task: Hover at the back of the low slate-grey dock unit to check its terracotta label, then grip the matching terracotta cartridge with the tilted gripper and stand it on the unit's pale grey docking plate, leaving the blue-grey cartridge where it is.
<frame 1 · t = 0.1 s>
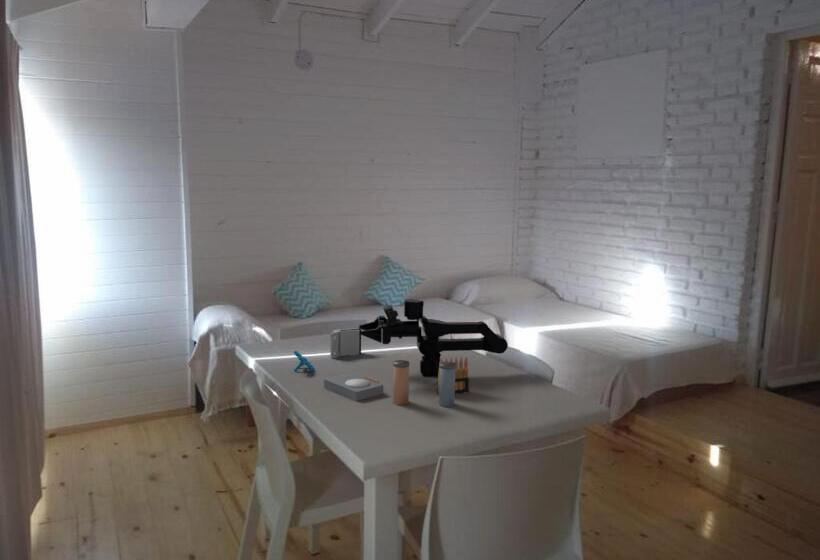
hand: (359, 329, 234), 17 cm above the table, tool horizontal, fingers open, 9 cm apart
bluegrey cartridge: (446, 404, 207), on the table
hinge: (344, 356, 263), on the table
dock unit: (357, 392, 218), on the table
terracotta cartridge: (400, 402, 208), on the table
gear: (304, 371, 242), on the table
ammunition clip: (452, 393, 219), on the table
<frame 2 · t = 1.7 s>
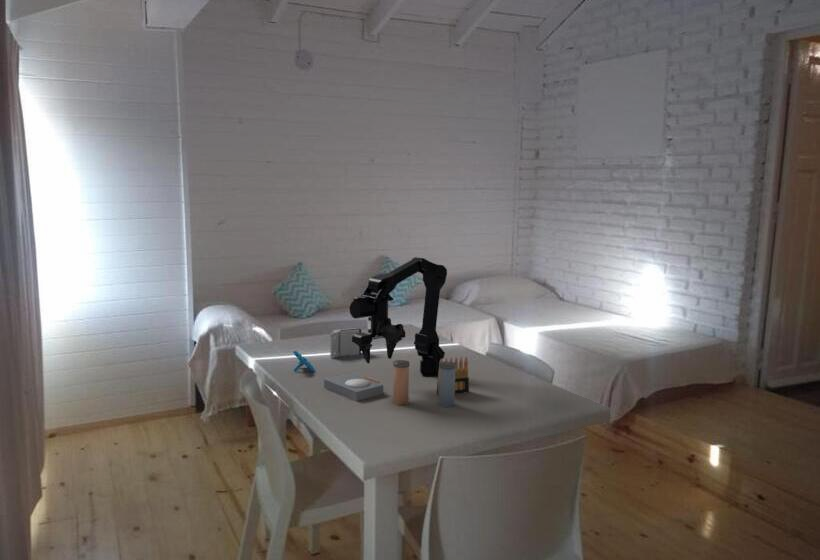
hand: (378, 360, 222), 9 cm above the table, tool pointing down, fingers open, 9 cm apart
nothing on the table moved.
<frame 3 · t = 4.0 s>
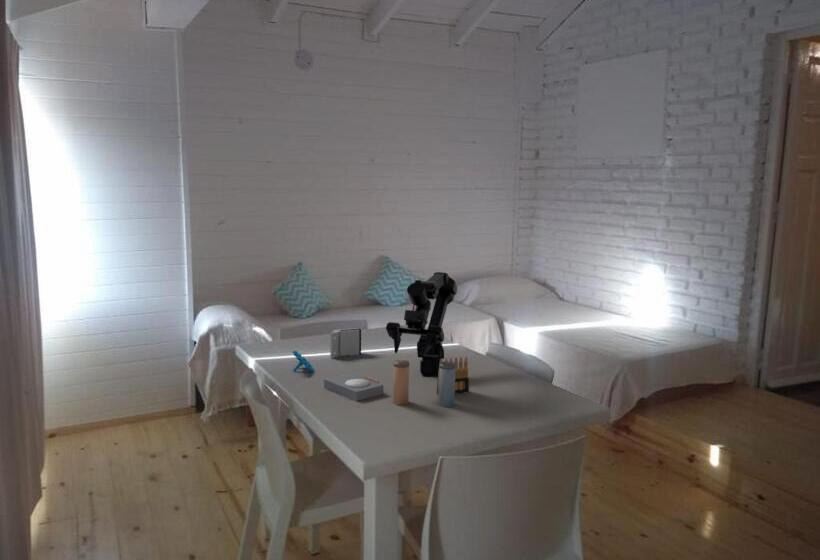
hand: (409, 354, 214), 14 cm above the table, tool tilted 45°, fingers open, 9 cm apart
nothing on the table moved.
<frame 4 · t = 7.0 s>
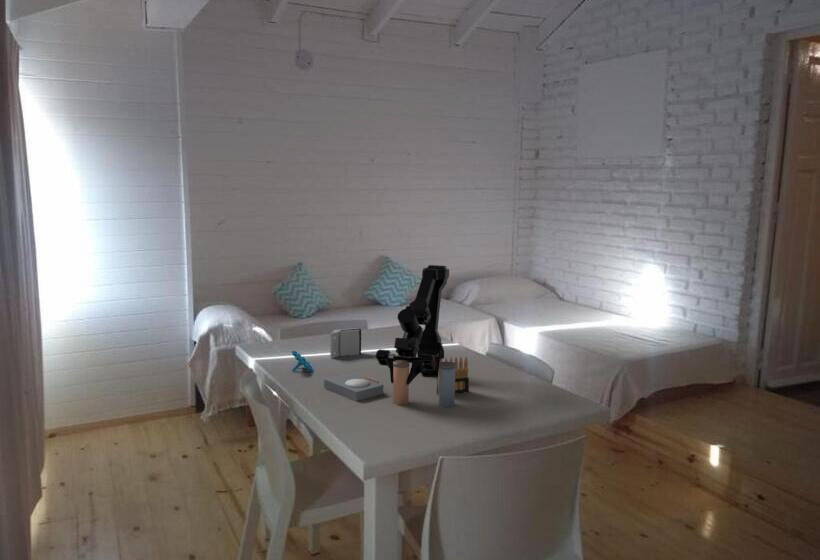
hand: (399, 383, 206), 7 cm above the table, tool tilted 45°, fingers closed on terracotta cartridge, 5 cm apart
terracotta cartridge: (400, 402, 208), on the table, touching gripper
everything else where it was.
when the fingers open (11 cm above the table, at t = 10.7 s): terracotta cartridge drops 1 cm, resting on dock unit.
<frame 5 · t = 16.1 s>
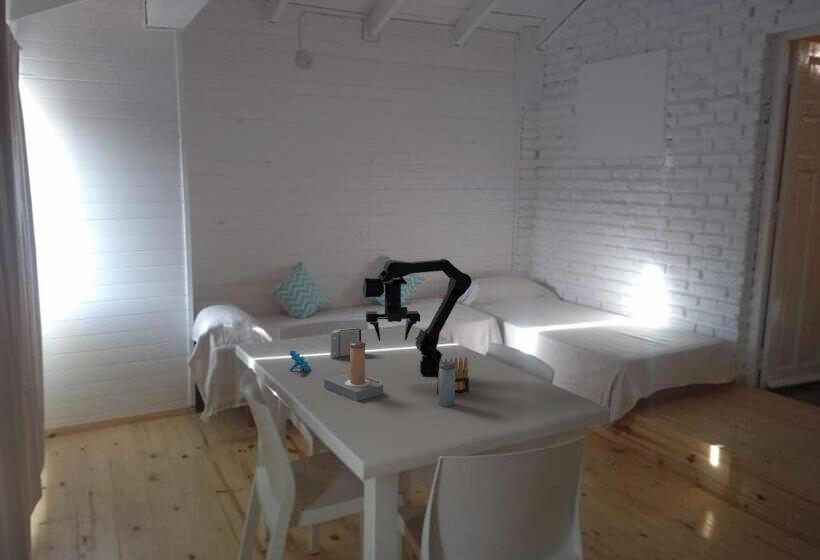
hand: (392, 340, 234), 13 cm above the table, tool pointing down, fingers open, 9 cm apart
terracotta cartridge: (357, 382, 217), point 3 cm above the table, touching dock unit
at the end: terracotta cartridge 0.1 cm off-centre on the dock unit, point 3.4 cm above the dock unit's base; terracotta cartridge tilted 0°; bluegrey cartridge moved 0.0 cm from its start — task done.
